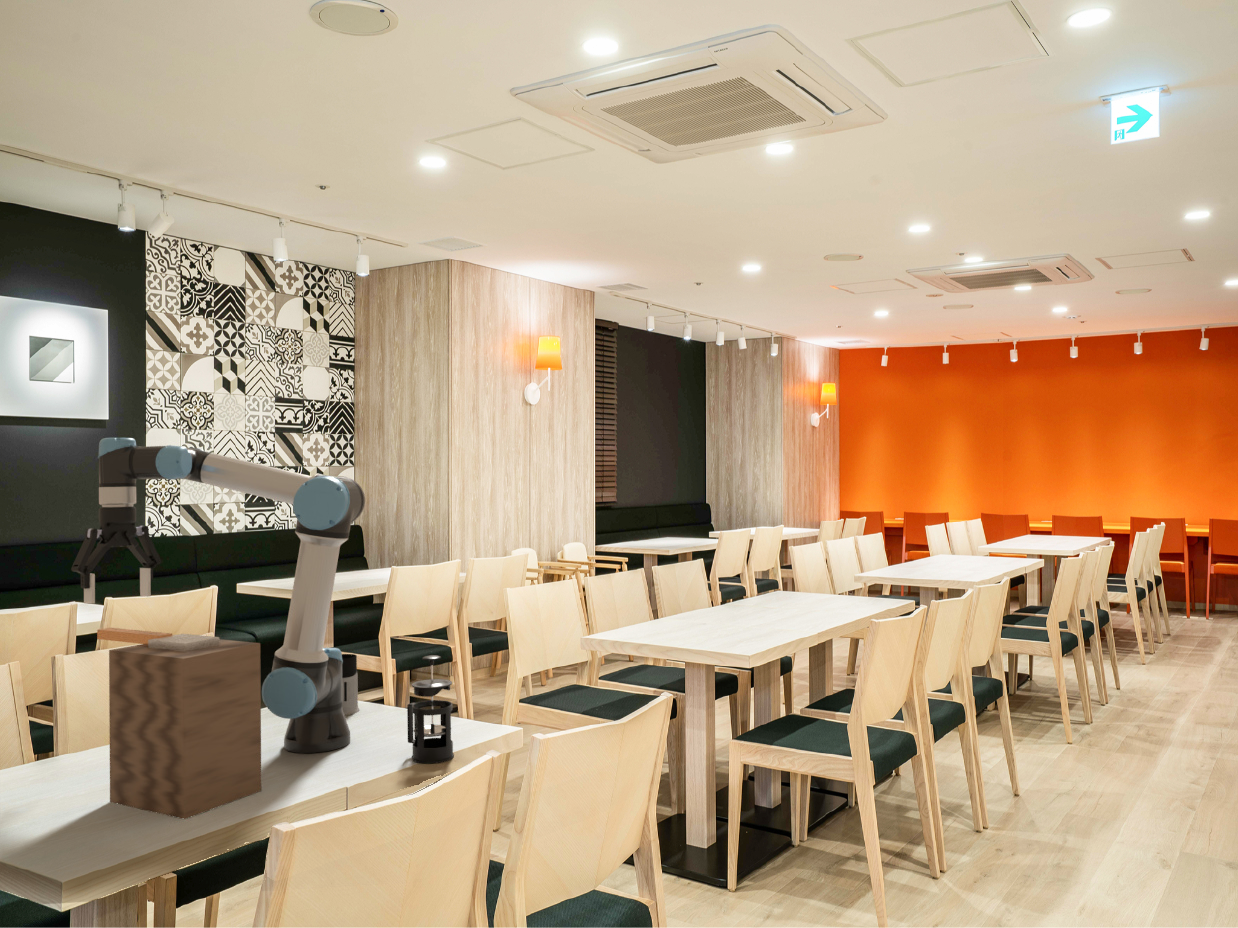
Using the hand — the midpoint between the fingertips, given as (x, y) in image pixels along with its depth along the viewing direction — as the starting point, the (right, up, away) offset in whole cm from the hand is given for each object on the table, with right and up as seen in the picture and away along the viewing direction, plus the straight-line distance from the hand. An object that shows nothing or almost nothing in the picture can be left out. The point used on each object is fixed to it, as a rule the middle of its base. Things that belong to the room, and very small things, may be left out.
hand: (118, 599), depth 216 cm
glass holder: (+38, -37, +42) cm, 68 cm away
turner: (+17, -6, -19) cm, 26 cm away
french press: (+71, -36, 0) cm, 79 cm away
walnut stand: (+27, -36, -24) cm, 51 cm away
